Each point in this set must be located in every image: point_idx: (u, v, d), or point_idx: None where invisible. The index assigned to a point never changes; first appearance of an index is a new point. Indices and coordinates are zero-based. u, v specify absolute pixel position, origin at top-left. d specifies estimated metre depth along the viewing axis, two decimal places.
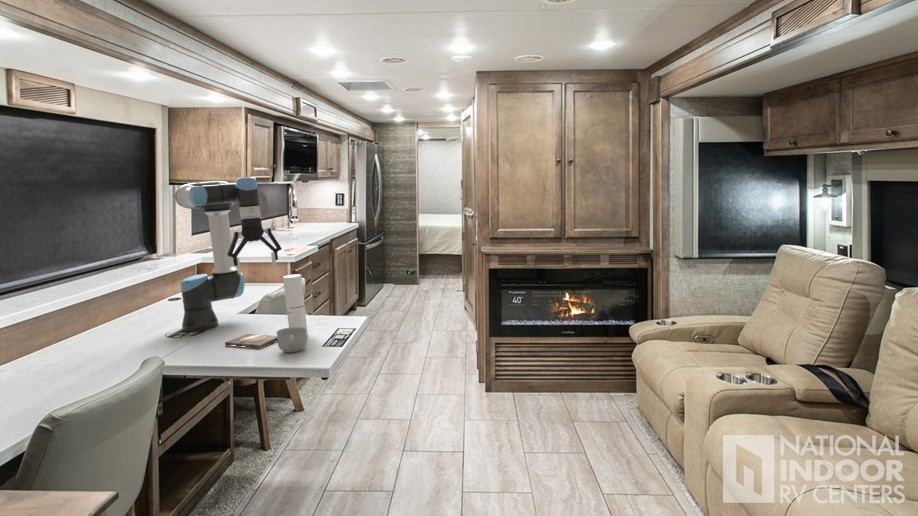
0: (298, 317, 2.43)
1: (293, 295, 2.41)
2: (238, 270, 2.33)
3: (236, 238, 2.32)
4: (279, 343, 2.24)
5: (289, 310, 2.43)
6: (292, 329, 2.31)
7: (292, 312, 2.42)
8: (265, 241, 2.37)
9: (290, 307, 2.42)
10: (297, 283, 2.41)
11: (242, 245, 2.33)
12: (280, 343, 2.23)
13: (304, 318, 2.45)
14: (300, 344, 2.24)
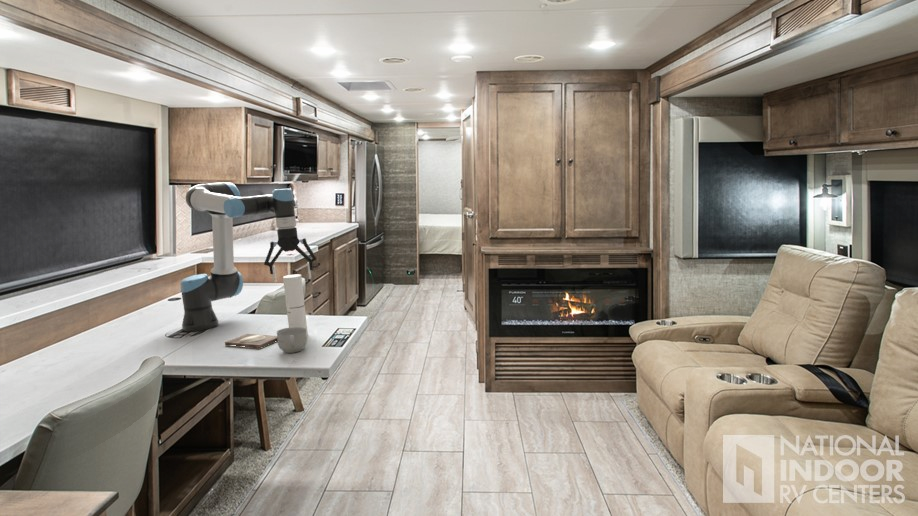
0: (298, 317, 2.43)
1: (293, 295, 2.41)
2: None
3: (271, 247, 2.39)
4: (279, 343, 2.24)
5: (289, 310, 2.43)
6: (292, 329, 2.31)
7: (292, 312, 2.42)
8: (300, 251, 2.41)
9: (290, 307, 2.42)
10: (297, 283, 2.41)
11: (277, 254, 2.40)
12: (280, 343, 2.23)
13: (304, 318, 2.45)
14: (300, 344, 2.24)
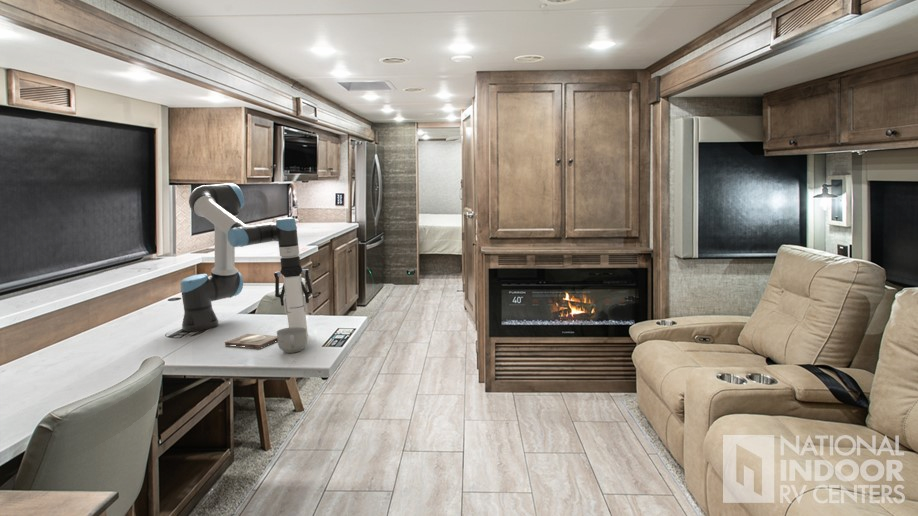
0: (298, 317, 2.43)
1: (293, 295, 2.41)
2: None
3: (277, 278, 2.41)
4: (279, 343, 2.24)
5: (289, 310, 2.43)
6: (292, 329, 2.31)
7: (292, 312, 2.42)
8: None
9: (290, 307, 2.42)
10: (297, 283, 2.41)
11: None
12: (280, 343, 2.23)
13: (304, 318, 2.45)
14: (300, 344, 2.24)
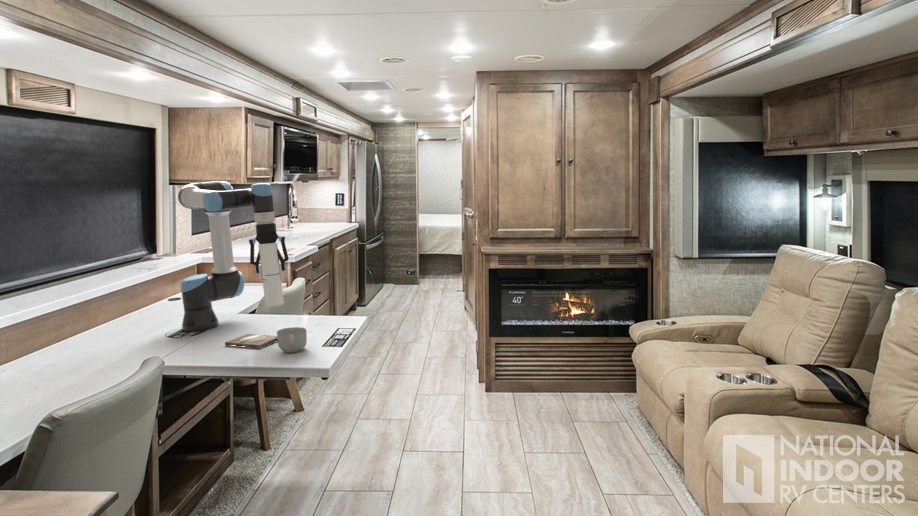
0: (274, 285, 2.39)
1: (269, 262, 2.37)
2: None
3: (252, 245, 2.37)
4: (279, 343, 2.24)
5: (264, 277, 2.38)
6: (292, 329, 2.31)
7: (267, 279, 2.38)
8: None
9: (265, 274, 2.38)
10: (272, 250, 2.37)
11: (259, 252, 2.38)
12: (280, 343, 2.23)
13: (280, 286, 2.41)
14: (300, 344, 2.24)
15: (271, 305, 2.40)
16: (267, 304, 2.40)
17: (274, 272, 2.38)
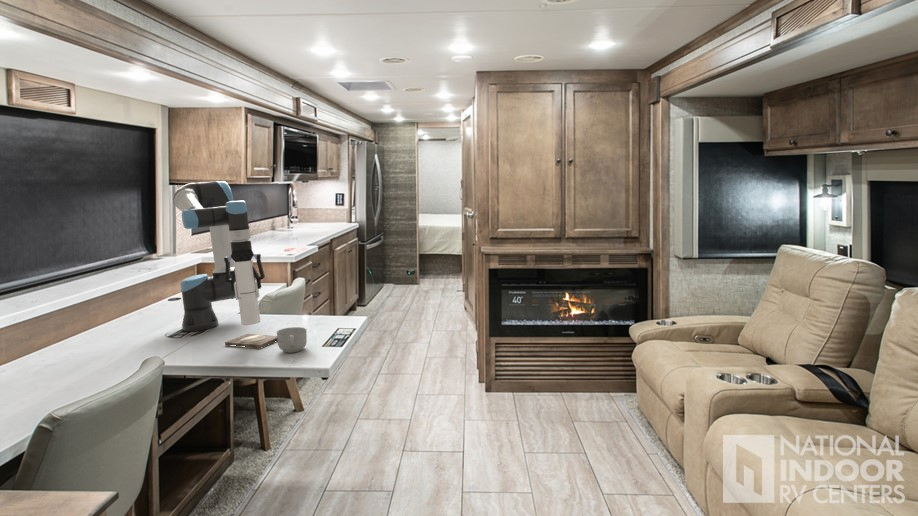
0: (249, 303, 2.36)
1: (244, 280, 2.34)
2: None
3: (227, 263, 2.35)
4: (279, 343, 2.24)
5: (240, 296, 2.36)
6: (292, 329, 2.31)
7: (243, 298, 2.35)
8: None
9: (241, 293, 2.35)
10: (247, 268, 2.35)
11: None
12: (280, 343, 2.23)
13: (256, 304, 2.38)
14: (300, 344, 2.24)
15: (247, 323, 2.37)
16: (243, 322, 2.38)
17: (249, 290, 2.36)
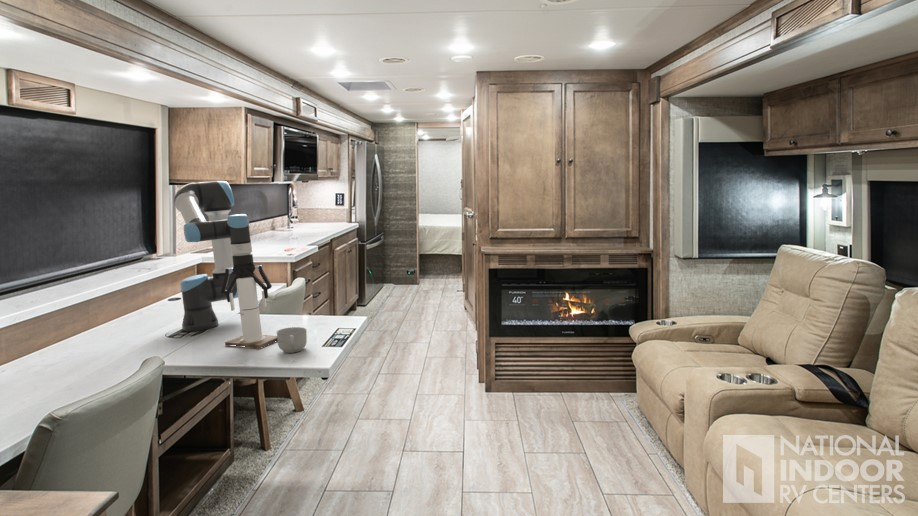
0: (251, 319, 2.37)
1: (246, 296, 2.36)
2: (231, 306, 2.38)
3: (227, 275, 2.35)
4: (279, 343, 2.24)
5: (242, 312, 2.37)
6: (292, 329, 2.31)
7: (245, 314, 2.37)
8: (255, 279, 2.37)
9: (243, 309, 2.37)
10: (250, 284, 2.36)
11: (233, 282, 2.36)
12: (280, 343, 2.23)
13: (258, 320, 2.40)
14: (300, 344, 2.24)
15: (249, 340, 2.38)
16: (245, 339, 2.39)
17: (251, 306, 2.37)
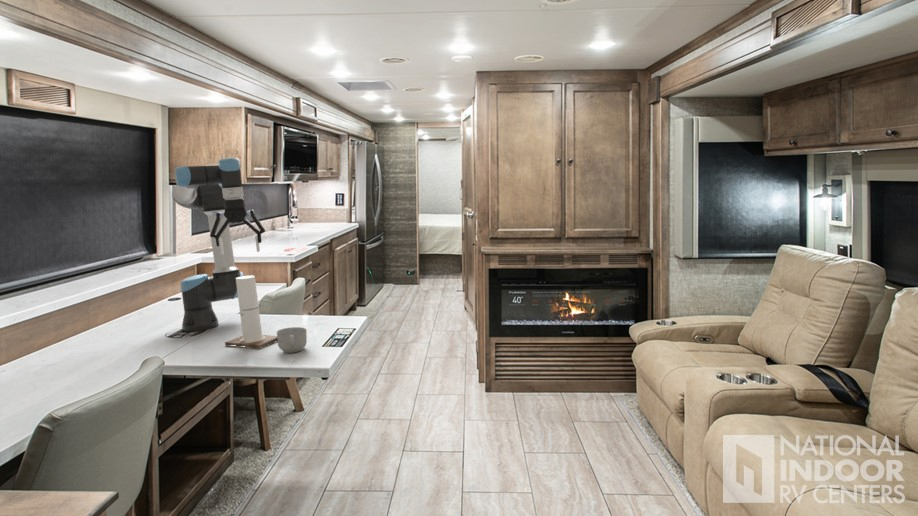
0: (251, 319, 2.37)
1: (246, 297, 2.36)
2: (220, 251, 2.35)
3: (217, 219, 2.33)
4: (279, 343, 2.24)
5: (242, 312, 2.37)
6: (292, 329, 2.31)
7: (245, 314, 2.37)
8: (247, 223, 2.35)
9: (243, 309, 2.36)
10: (250, 285, 2.36)
11: (224, 226, 2.34)
12: (280, 343, 2.23)
13: (258, 320, 2.40)
14: (300, 344, 2.24)
15: (249, 340, 2.38)
16: (245, 339, 2.39)
17: (251, 307, 2.37)
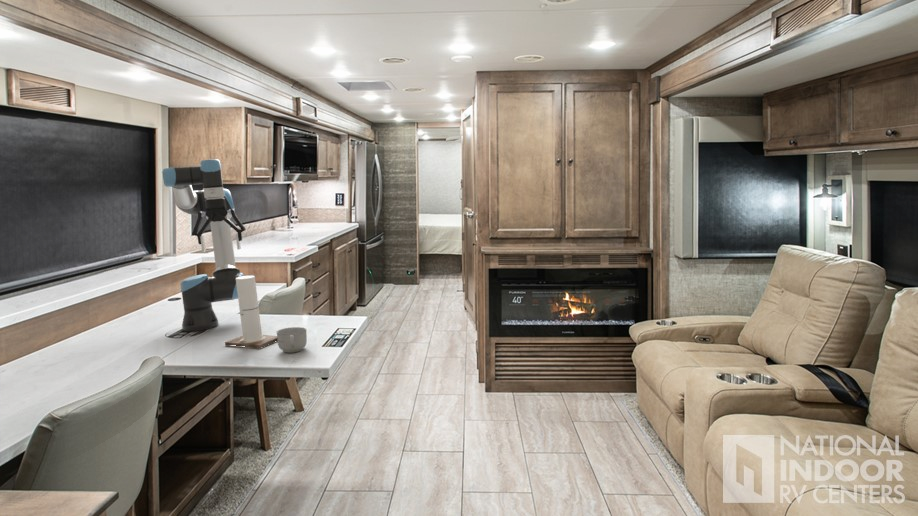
0: (251, 320, 2.37)
1: (246, 297, 2.36)
2: (202, 248, 2.44)
3: (199, 218, 2.42)
4: (279, 343, 2.24)
5: (242, 312, 2.37)
6: (292, 329, 2.31)
7: (245, 314, 2.37)
8: (228, 222, 2.44)
9: (243, 309, 2.36)
10: (250, 285, 2.36)
11: (205, 225, 2.43)
12: (280, 343, 2.23)
13: (258, 320, 2.40)
14: (300, 344, 2.24)
15: (249, 340, 2.38)
16: (245, 339, 2.39)
17: (251, 307, 2.37)
